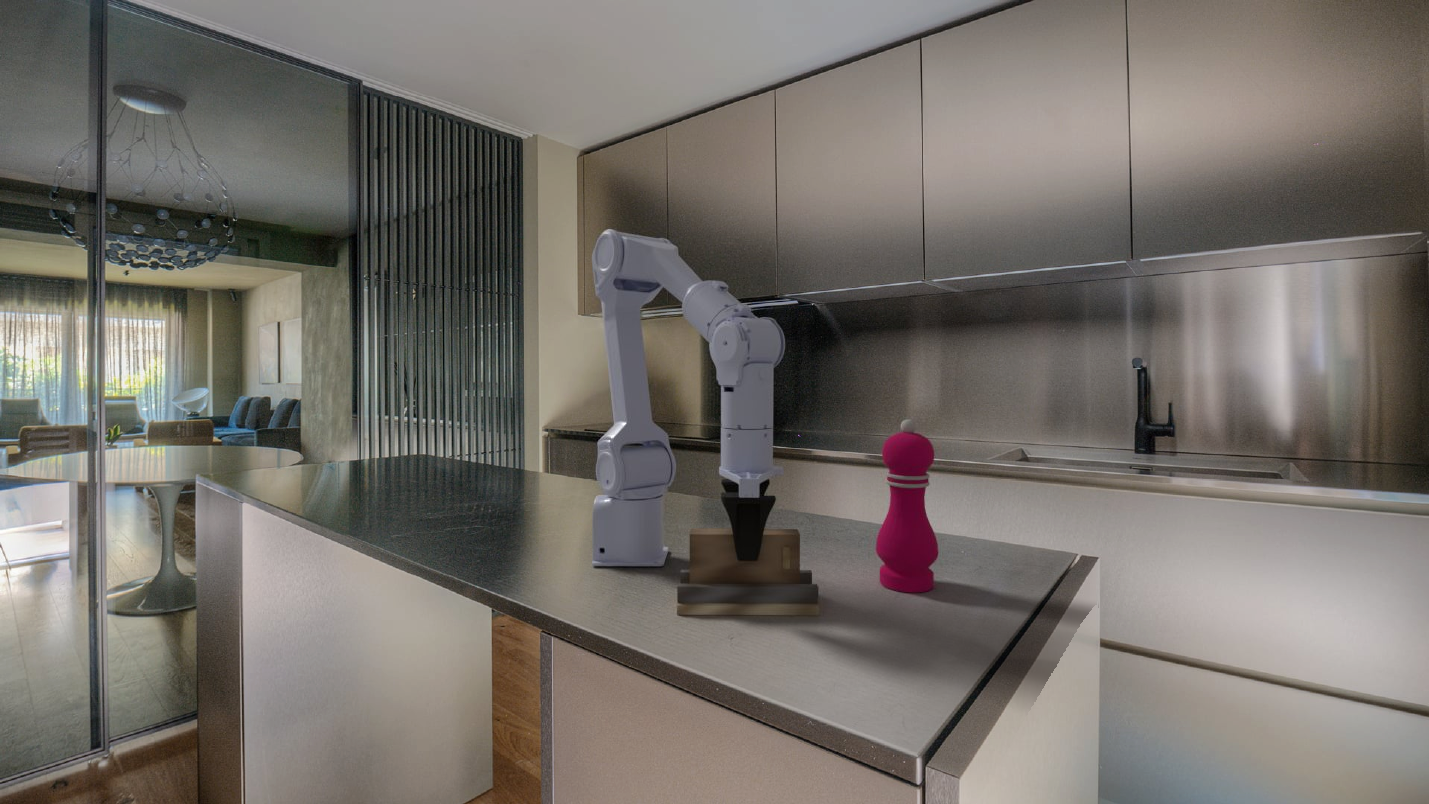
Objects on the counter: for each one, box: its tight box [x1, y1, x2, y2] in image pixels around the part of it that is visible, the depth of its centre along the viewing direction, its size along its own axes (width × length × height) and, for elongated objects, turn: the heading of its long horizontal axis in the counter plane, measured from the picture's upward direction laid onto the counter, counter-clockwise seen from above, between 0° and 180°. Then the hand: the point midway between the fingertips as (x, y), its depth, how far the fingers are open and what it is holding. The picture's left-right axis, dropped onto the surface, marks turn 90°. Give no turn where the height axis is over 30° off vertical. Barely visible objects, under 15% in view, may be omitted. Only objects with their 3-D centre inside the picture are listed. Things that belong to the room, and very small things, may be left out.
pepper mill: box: [875, 418, 939, 594], centre depth 76 cm, size 7×7×20 cm
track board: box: [676, 569, 820, 616], centre depth 70 cm, size 15×7×3 cm, turn 89°
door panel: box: [689, 528, 801, 584], centre depth 70 cm, size 12×3×7 cm, turn 89°
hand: (746, 549), depth 70 cm, fingers open, 7 cm apart
